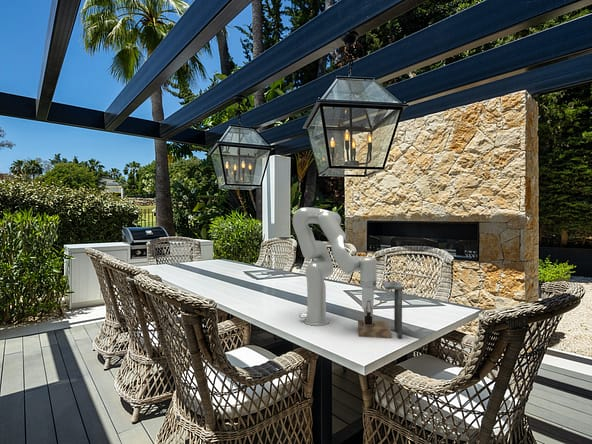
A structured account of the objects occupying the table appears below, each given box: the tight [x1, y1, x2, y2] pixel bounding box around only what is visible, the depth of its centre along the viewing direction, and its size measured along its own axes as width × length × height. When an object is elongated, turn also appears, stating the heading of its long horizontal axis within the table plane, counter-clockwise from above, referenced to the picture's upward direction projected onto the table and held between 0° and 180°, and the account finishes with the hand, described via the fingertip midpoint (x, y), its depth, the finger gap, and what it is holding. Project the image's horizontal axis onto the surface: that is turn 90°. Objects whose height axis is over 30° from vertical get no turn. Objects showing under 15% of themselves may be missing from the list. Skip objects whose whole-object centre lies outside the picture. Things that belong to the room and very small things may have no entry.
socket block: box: [357, 281, 405, 340], centre depth 154 cm, size 20×12×23 cm, turn 81°
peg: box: [363, 308, 374, 326], centre depth 155 cm, size 4×4×10 cm
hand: (368, 322), depth 155 cm, fingers closed on peg, 4 cm apart
